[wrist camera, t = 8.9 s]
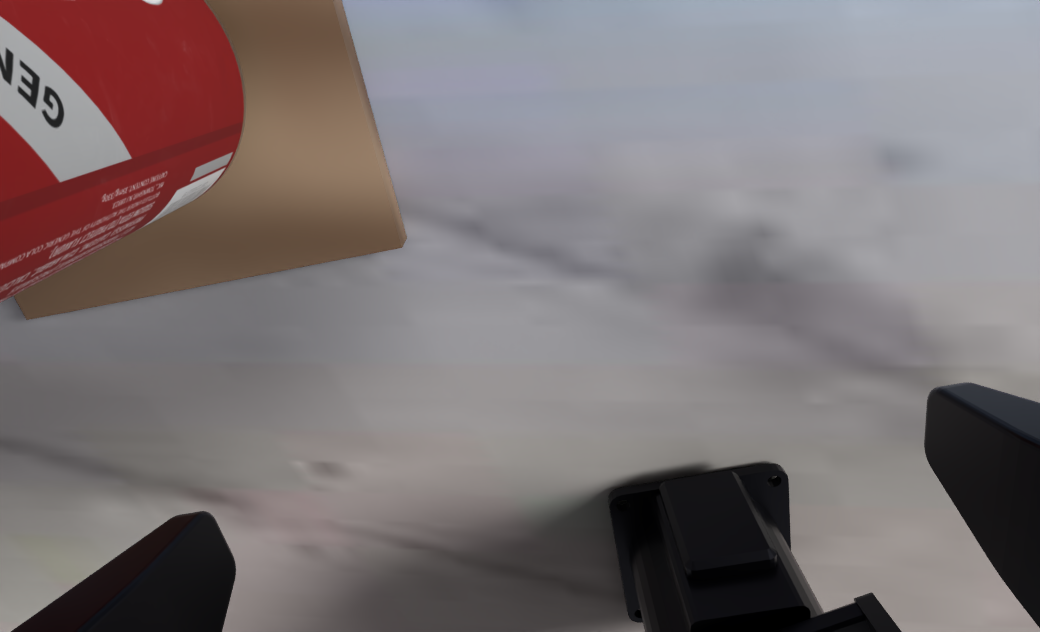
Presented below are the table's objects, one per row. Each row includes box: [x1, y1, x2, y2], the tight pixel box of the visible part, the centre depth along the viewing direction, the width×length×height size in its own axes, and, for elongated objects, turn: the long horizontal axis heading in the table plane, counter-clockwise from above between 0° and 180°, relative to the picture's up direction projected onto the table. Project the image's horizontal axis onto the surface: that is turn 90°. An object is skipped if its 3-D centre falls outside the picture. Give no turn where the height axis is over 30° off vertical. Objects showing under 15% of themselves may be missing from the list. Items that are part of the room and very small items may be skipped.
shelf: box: [14, 0, 407, 320], centre depth 16 cm, size 14×12×4 cm
